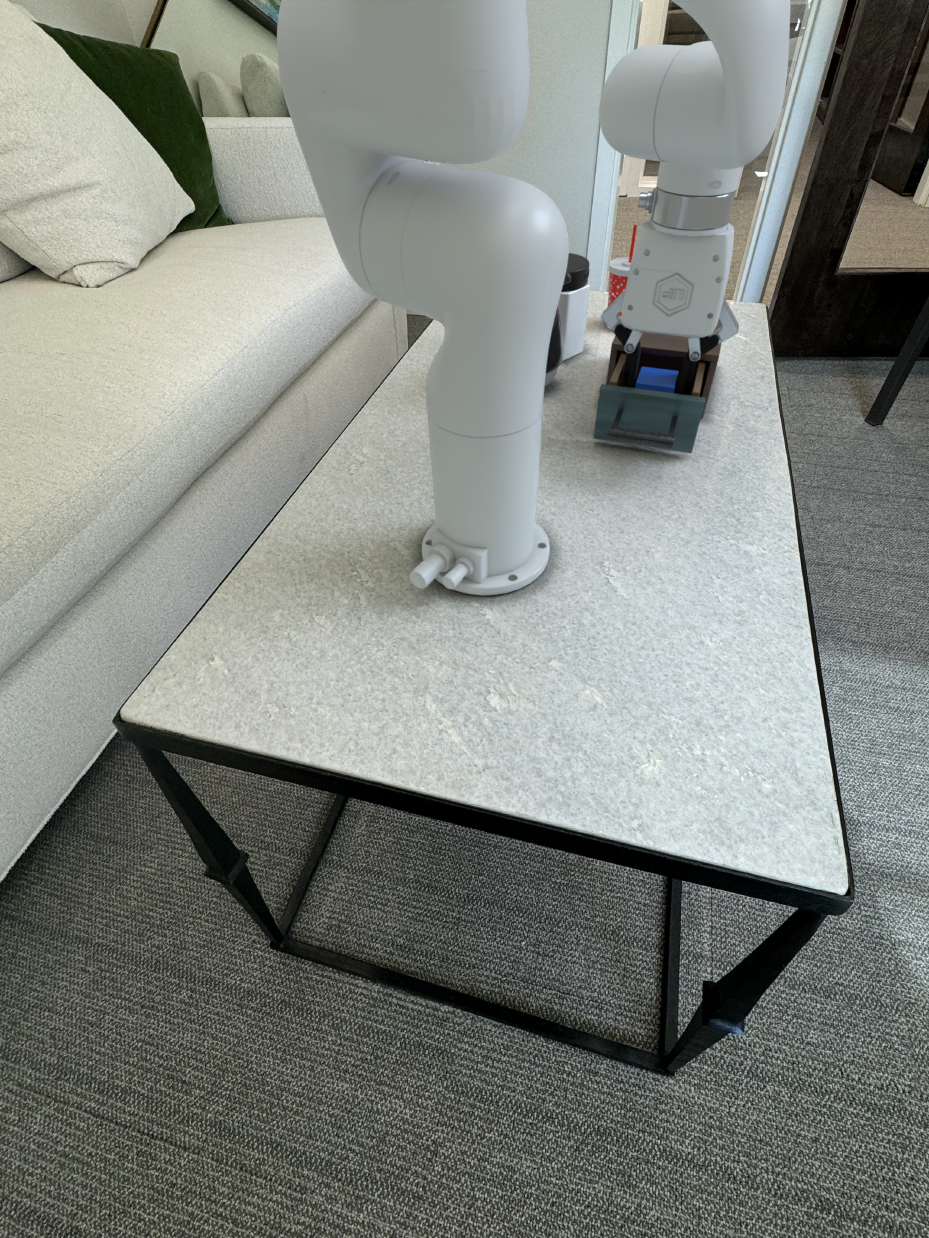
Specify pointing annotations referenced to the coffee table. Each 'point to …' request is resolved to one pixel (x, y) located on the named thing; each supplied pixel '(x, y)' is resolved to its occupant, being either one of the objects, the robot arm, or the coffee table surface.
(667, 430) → the drawer
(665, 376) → the blue block
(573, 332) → the jar
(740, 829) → the coffee table surface
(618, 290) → the beverage cup
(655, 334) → the cabinet
